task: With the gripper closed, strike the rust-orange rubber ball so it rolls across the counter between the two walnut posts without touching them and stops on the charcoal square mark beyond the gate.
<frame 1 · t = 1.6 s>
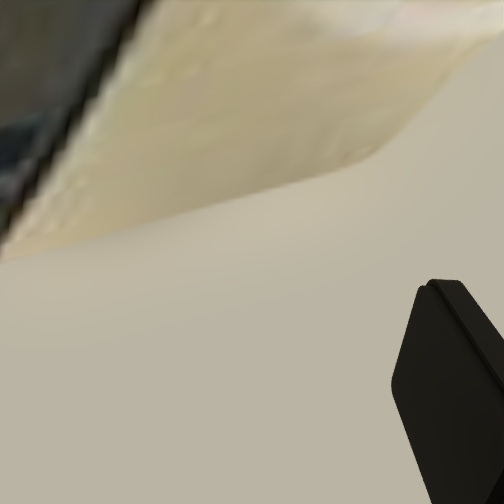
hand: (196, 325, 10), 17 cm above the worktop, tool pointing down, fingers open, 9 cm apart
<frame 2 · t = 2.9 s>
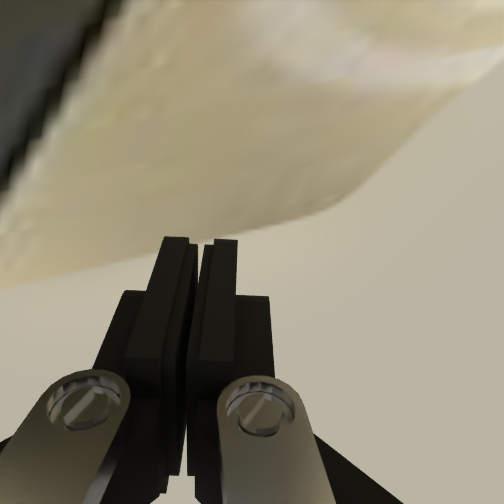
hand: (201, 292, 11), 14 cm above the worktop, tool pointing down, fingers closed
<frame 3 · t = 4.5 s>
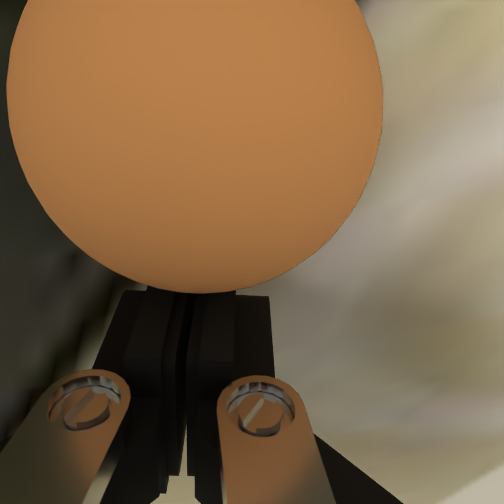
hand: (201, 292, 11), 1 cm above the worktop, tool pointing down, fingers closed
ball: (203, 119, 7), on the worktop
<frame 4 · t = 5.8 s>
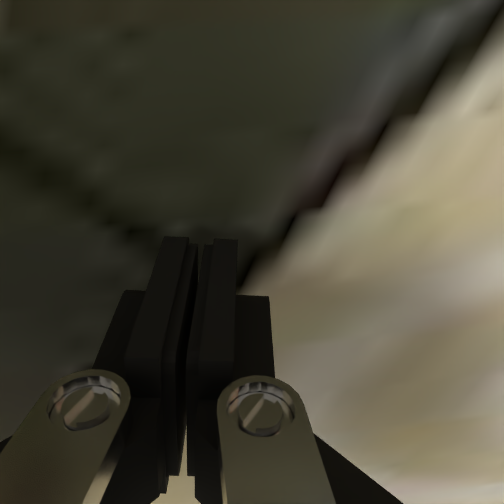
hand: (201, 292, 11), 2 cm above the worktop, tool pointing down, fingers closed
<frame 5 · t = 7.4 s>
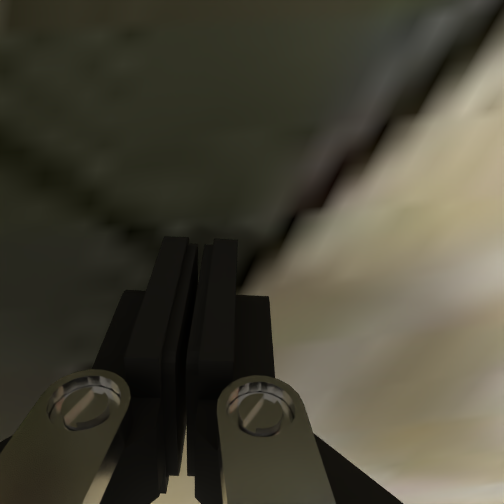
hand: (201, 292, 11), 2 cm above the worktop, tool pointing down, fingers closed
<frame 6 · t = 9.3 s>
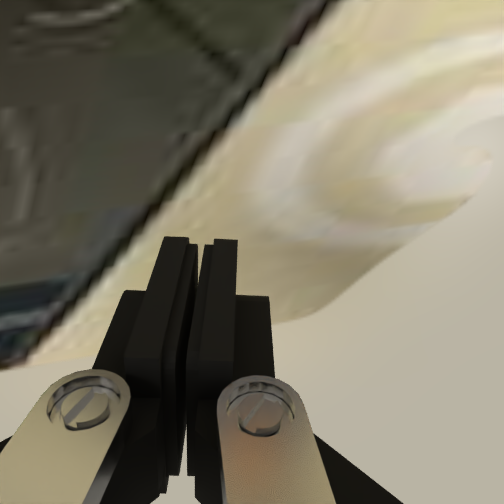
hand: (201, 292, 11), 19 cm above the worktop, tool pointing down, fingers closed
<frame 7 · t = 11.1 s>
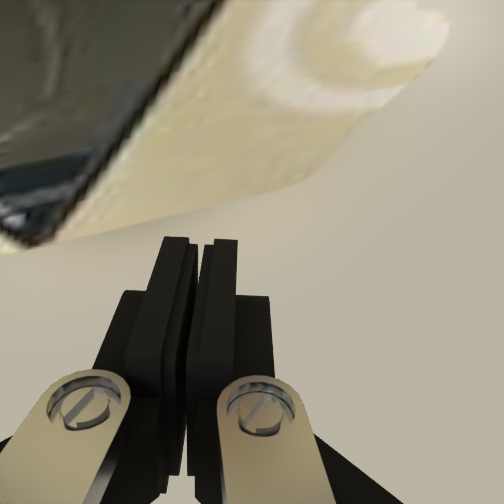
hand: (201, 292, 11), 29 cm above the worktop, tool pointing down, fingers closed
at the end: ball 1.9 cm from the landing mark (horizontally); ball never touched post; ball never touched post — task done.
